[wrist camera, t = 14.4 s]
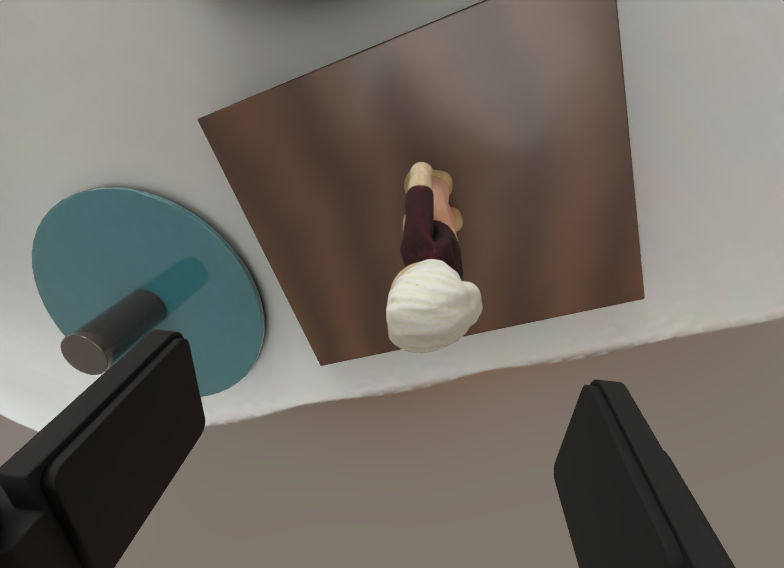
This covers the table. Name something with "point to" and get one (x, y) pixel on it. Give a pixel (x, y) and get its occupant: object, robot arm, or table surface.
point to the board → (446, 169)
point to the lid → (145, 284)
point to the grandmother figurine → (430, 269)
